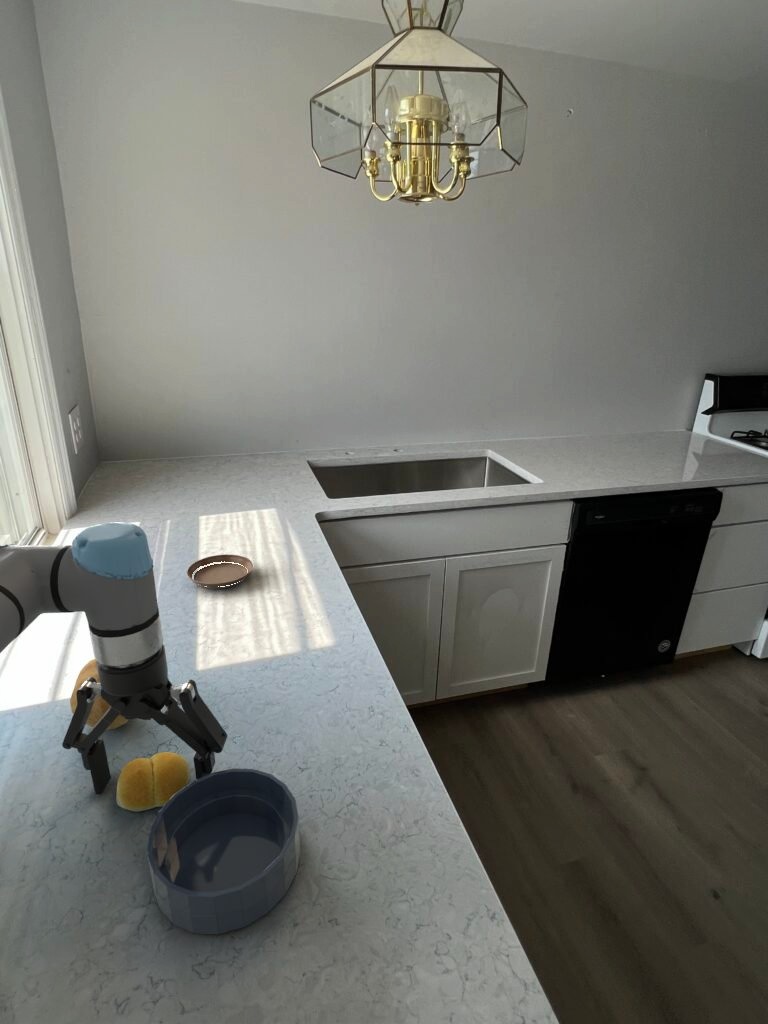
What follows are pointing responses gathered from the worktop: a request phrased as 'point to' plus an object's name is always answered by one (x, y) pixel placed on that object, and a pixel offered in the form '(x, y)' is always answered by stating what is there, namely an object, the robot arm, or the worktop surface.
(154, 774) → the bread roll
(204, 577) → the saucer
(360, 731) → the worktop surface
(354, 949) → the worktop surface
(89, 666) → the potato
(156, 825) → the blue grey bowl
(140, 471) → the worktop surface
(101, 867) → the worktop surface
